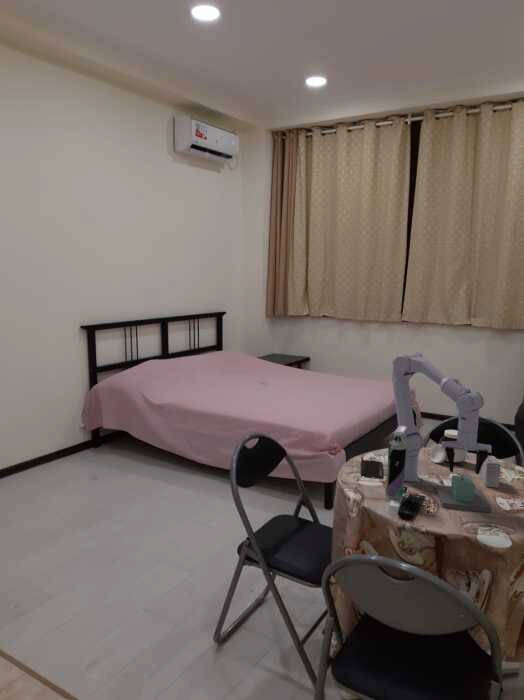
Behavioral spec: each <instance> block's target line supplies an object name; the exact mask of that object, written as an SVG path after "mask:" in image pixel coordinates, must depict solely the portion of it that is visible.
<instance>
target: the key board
mask: <svg viewBox="0 0 524 700" xmlns="http://www.w3.org/2000/svg"><path fill="white" fill-rule="evenodd" d="M435 491H436V494H437V497H438V500H439V503H440V505H441V508H445V509H455V510H464V511H473V512H474V511H475V512H480V513H481V512H483V513H491V509H492V508H491V505H490V504H489V501H488V500H487V498H486V496H485V494H484V492H483V491H482V489H481V488H475V492H474V502H471V501H461V500H455V498H454V496H453V493H452V491H451V485H443V484H441V485H440V484H436V485H435Z"/></svg>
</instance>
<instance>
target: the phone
mask: <svg viewBox="0 0 524 700" xmlns="http://www.w3.org/2000/svg"><path fill="white" fill-rule="evenodd" d="M383 472H384V471H383V462H381V461H378V460H377V461H376V460H367V459H366V460H365V459H362V460H361V461H360V473H359V474H360V475H361V476H360V475H359V476H360V477H362V476H364V477H363V478H369V477H375V478H374V479H379V478H381V479H383V477H384V474H383Z"/></svg>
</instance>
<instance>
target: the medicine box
mask: <svg viewBox="0 0 524 700" xmlns="http://www.w3.org/2000/svg"><path fill="white" fill-rule="evenodd" d="M500 474H501V463H500V461H499V460H498V459H497V457H496V456H494V455H488V457H487V459H486V460H485V461H484V463H483V465H482V467H481V469H480V473H479V477H480V478H479V479H480V480H481V482H482V483H483V485H484V486H485V487H486V488H493V489H494V488H495V489H499V488H500V487H499V486H500V476H501V475H500Z"/></svg>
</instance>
